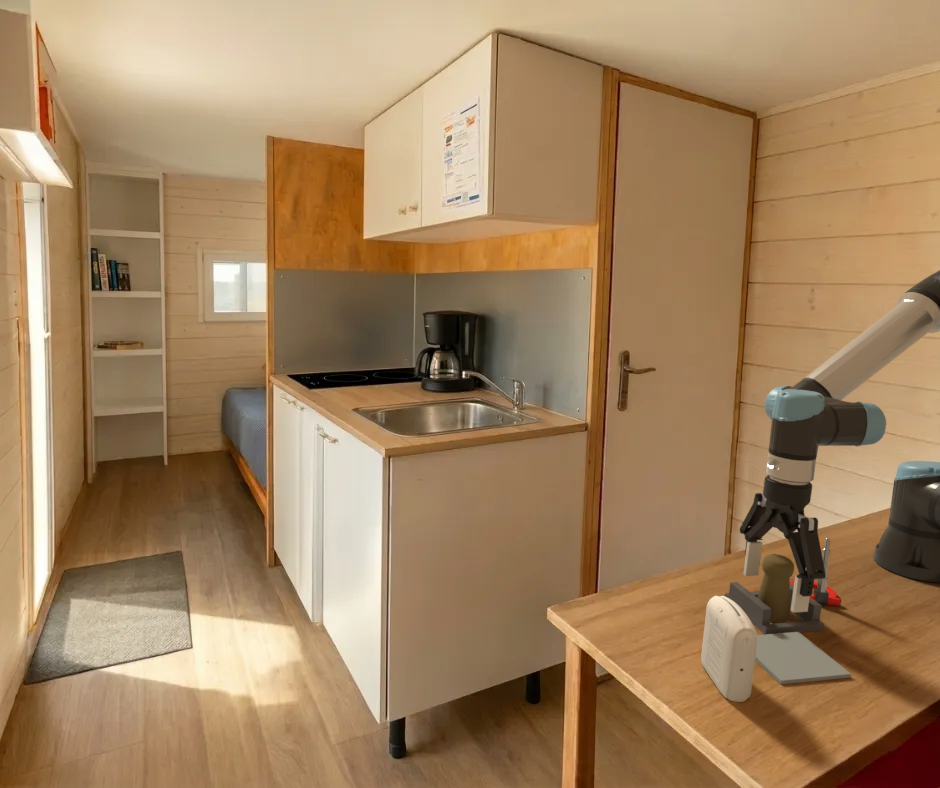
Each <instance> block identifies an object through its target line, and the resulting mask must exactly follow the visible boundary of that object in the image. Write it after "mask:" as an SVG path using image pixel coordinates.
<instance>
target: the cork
mask: <svg viewBox="0 0 940 788" xmlns="http://www.w3.org/2000/svg"><path fill="white" fill-rule="evenodd" d="M761 567H762V571H763V572H764V573H763V576H762V581H761V584H760V588H759V590H758V591H759V594H758V599H759V600H761V601H762V602H763V603H764V604H766V605H767V606H768V607H769V608H771V616H770V623H774V624H777V623H789V622H790V620H791V611H790V582H791V580H790V578H791V577H792V576H793V574H794V571H795V565H794V563H793V561H792V559H790V558H789V557H787V556H784V555H782V554H776V553H772V554H771V553H770V554H767V555H765V556H764V558H763V560H762V563H761Z"/></svg>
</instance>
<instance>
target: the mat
mask: <svg viewBox="0 0 940 788" xmlns="http://www.w3.org/2000/svg"><path fill="white" fill-rule="evenodd" d="M757 637H758V641H757V650H756V658H755V663H758V665H760V667H762V668H763V670H764V671H766V672H767V673H768V674H769V675H770V676H771V677H772V678H773V679H775V681H776V682H778V683H779V685H786V684H787V685H788V684H797V683H806V682H807V683H808V682H818V681H819V682H820V681H828V680H829V681H830V680H839V679H846V678H847V679H848V678H851V676H852V674H851V673H850V672H849V670H847V669H846V668H844V667H843V666H842V665H841V664H839V662H837V661H836V660H834V659H833V658H832V657H831V656H829V655H828V654H827V653H826V652H825V651H823V650H822V649H821V648H819V647H818V646H817V645H816V644H814V643H813V642H812V641H810V640H809V639H808V638H807V637H805V636H804V635H803V634H802V633H801V632H789V633H777V634H757Z"/></svg>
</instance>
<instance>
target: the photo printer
mask: <svg viewBox="0 0 940 788" xmlns="http://www.w3.org/2000/svg"><path fill="white" fill-rule="evenodd" d="M704 619H705V620H704V626H703V628H704V629H703V635H702V636H703V638H702V647H701V653H700V654H701V655H700V660H701V664H702V667H704V669H705V671H706V672H707V673H706V674H708V675H709V677H710V679H711V680H712V682H713V684H714V685H715V687H716V688H717V689H718V690H719V692H720V694H721V695H722V696H723V697H724V698H725V699H728V700H729V701H731V702H736V703H741V702H742V703H743V702H745V701H747V700H748V699H750V698H751V694H752V687H753V680H754V674H755V673H754V671H755V664H756V661H755V658H756V650H757V641H758V637H757V635H758V634H757V631H756V628H755V625H753V624H752V622H751V621H750V619H749V617H748V616H747V615H746V613H745V612H744V611H743V610H742V609H741V607H740V606H739V605H738V604H736V603H735V602H734V601H733V600H731V599H729V598H727V597H725V595H721V596H718V595H714V596H713V597H711V598H710V599H709V600H708V602H707V604H706V610H705V618H704Z"/></svg>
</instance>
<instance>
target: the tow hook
mask: <svg viewBox="0 0 940 788" xmlns="http://www.w3.org/2000/svg"><path fill="white" fill-rule="evenodd" d="M830 544H831V538H830V537H825V540H824V548H823V549H822V552H821V553H822V558H823V564H824V569H825V574H826V577H825V578H824V579H817V581H814V584H813V593H812V595H811V596H810V597H811V598H812V599H813V600H815V601H816V602H818V603H819V604H821V605H822V606H827V605H828V606H837V607H840V606H841V599H840V598H839V597H837V596H838V594H837V591H835V590H834V589H833V588H831V587H830V586H828V571H829V570H828V569H829V563H830V555H831V549H830ZM794 581H795V579H794V580H790V583H791V584H792V585H794Z"/></svg>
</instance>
